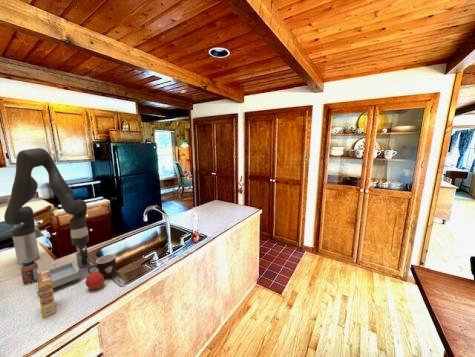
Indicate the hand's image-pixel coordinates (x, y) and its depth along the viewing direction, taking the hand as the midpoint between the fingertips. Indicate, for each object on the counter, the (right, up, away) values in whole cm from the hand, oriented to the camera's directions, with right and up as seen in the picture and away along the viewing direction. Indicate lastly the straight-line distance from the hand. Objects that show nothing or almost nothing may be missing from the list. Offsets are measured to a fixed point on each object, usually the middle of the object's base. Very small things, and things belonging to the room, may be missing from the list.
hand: (83, 261), depth 113 cm
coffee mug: (+19, -4, -10) cm, 22 cm away
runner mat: (+2, -4, -10) cm, 11 cm away
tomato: (+20, -5, -17) cm, 27 cm away
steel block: (0, -2, 0) cm, 2 cm away
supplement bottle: (-17, -5, -12) cm, 21 cm away
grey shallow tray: (-1, -5, -14) cm, 15 cm away
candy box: (+10, -7, -31) cm, 33 cm away
